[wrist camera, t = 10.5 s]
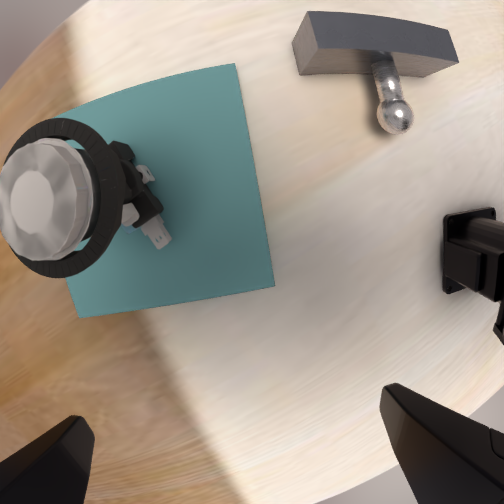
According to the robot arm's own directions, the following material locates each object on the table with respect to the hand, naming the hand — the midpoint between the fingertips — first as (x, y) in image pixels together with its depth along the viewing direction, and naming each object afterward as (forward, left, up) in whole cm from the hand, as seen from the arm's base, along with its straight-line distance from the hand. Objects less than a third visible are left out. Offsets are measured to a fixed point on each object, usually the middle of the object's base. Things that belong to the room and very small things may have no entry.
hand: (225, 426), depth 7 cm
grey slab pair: (-12, -17, -13) cm, 24 cm away
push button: (+4, -6, -12) cm, 14 cm away
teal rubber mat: (+4, -6, -13) cm, 15 cm away
